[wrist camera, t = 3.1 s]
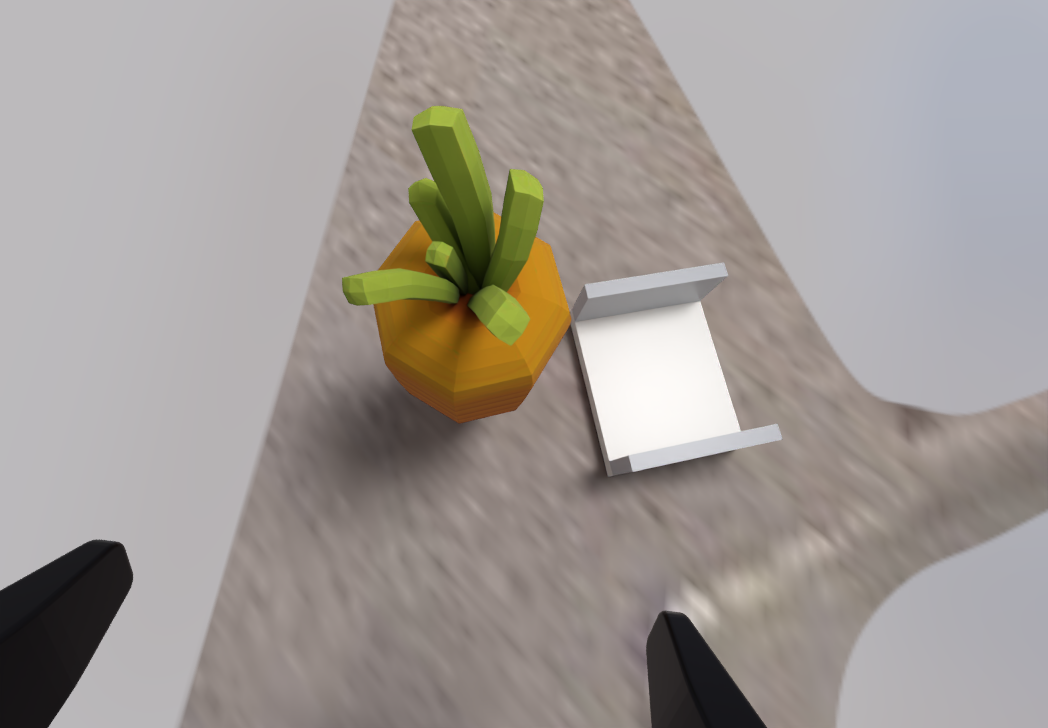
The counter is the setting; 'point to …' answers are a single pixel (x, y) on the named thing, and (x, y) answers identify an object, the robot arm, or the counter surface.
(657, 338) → the white railed tray
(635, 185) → the counter surface
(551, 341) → the carrot
